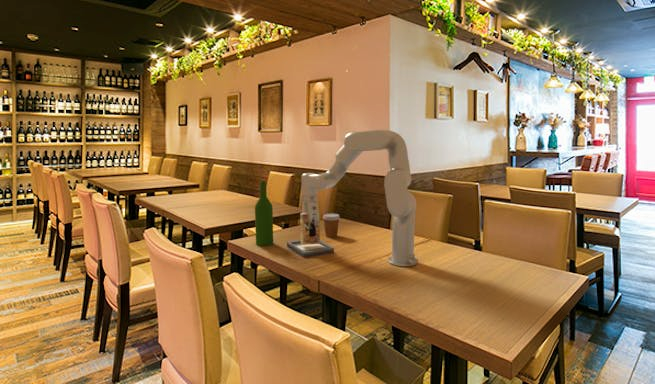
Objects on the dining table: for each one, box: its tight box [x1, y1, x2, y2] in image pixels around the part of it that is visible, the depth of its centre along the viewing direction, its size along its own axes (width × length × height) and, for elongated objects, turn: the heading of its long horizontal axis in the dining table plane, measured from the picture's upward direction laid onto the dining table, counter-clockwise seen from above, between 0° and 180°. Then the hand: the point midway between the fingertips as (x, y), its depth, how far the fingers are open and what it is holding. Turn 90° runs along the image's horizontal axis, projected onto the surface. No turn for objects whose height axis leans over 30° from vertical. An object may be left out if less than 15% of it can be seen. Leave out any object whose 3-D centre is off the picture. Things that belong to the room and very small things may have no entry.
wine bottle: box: [254, 181, 274, 247], centre depth 208 cm, size 9×9×32 cm
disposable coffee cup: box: [322, 213, 340, 238], centre depth 224 cm, size 10×10×12 cm
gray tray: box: [286, 239, 335, 259], centre depth 199 cm, size 20×16×2 cm
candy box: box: [299, 212, 321, 245], centre depth 197 cm, size 9×4×15 cm, turn 107°
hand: (310, 234), depth 198 cm, fingers closed on candy box, 4 cm apart
